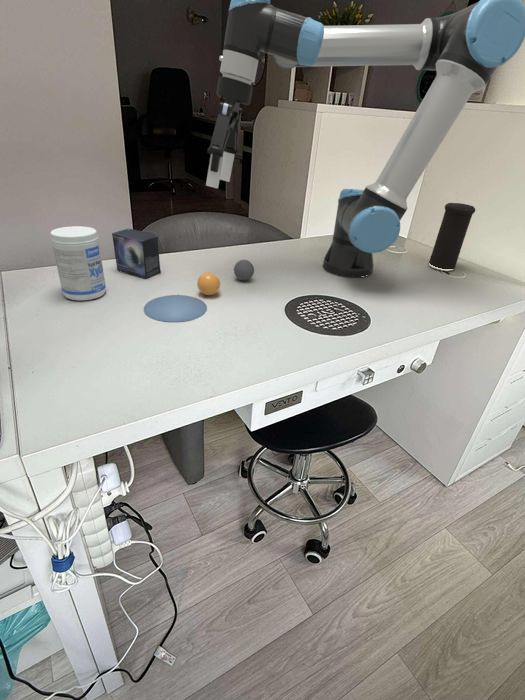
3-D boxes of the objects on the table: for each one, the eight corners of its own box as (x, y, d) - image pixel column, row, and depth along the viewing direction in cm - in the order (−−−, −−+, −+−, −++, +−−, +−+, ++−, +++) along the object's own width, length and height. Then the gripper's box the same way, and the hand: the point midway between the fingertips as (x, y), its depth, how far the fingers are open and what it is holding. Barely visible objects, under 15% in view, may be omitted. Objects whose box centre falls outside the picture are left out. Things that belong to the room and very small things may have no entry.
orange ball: (224, 294, 97) (224, 273, 94) (209, 300, 93) (209, 279, 90) (208, 288, 100) (207, 267, 97) (192, 294, 96) (192, 273, 93)
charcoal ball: (257, 279, 107) (258, 260, 104) (245, 285, 103) (246, 265, 100) (242, 274, 110) (242, 255, 107) (229, 279, 106) (229, 260, 103)
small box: (115, 271, 106) (109, 232, 100) (132, 265, 111) (128, 227, 105) (145, 280, 102) (141, 240, 97) (161, 273, 107) (159, 234, 102)
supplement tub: (104, 301, 89) (94, 237, 82) (59, 303, 87) (44, 237, 79) (108, 285, 97) (99, 225, 90) (67, 286, 95) (54, 225, 87)
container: (457, 267, 129) (478, 204, 118) (452, 274, 122) (474, 208, 112) (430, 261, 132) (448, 199, 122) (424, 268, 126) (443, 203, 115)
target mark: (219, 307, 90) (219, 306, 90) (174, 328, 80) (174, 327, 80) (176, 291, 97) (176, 290, 97) (130, 308, 87) (130, 307, 87)
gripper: (230, 81, 94) (215, 174, 105) (205, 66, 72) (188, 185, 83) (260, 90, 94) (241, 182, 105) (244, 77, 73) (222, 194, 83)
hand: (218, 183), depth 94 cm, fingers open, 13 cm apart
